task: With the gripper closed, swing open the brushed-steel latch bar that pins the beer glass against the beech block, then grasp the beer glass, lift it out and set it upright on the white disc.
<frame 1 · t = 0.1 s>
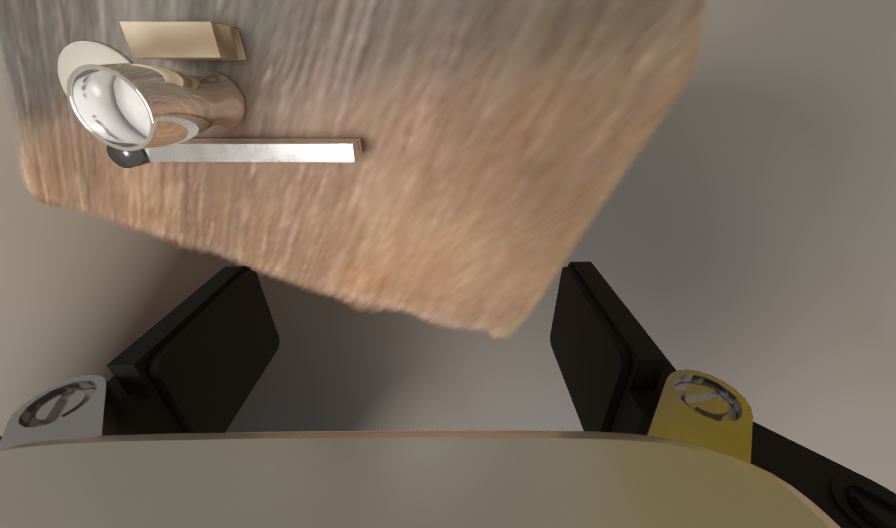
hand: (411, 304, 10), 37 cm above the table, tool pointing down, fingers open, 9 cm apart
latch bar: (241, 150, 39), point 4 cm above the table, hinge at 0.0°
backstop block: (203, 44, 38), on the table
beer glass: (221, 100, 41), on the table
white disc: (110, 91, 40), on the table
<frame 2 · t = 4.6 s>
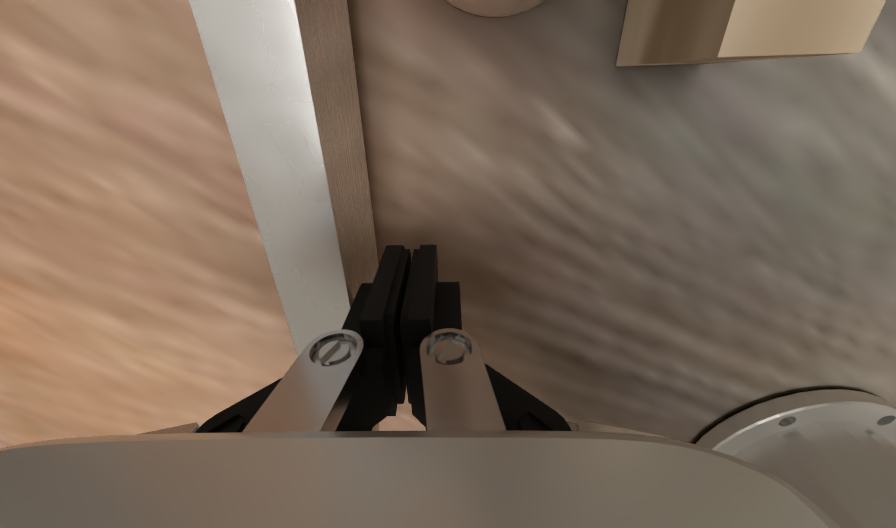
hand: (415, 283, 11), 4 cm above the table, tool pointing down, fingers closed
latch bar: (276, 8, 8), point 4 cm above the table, hinge at 1.3°, touching gripper
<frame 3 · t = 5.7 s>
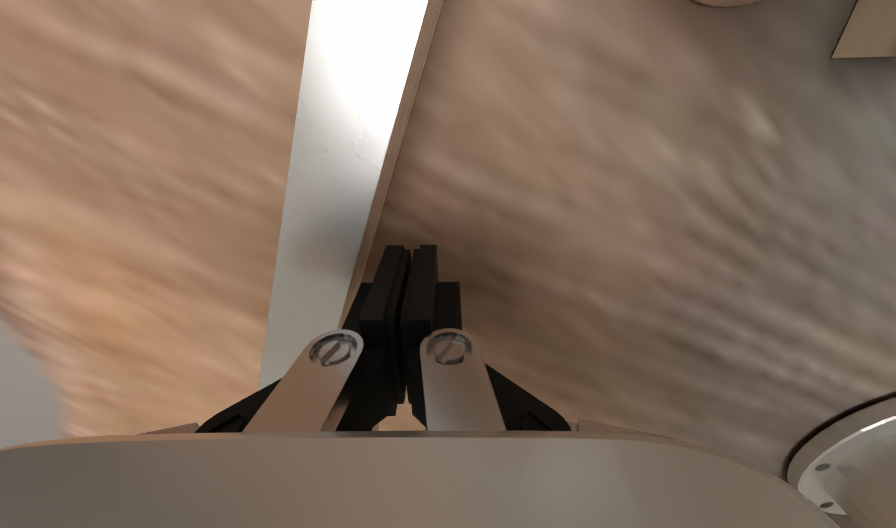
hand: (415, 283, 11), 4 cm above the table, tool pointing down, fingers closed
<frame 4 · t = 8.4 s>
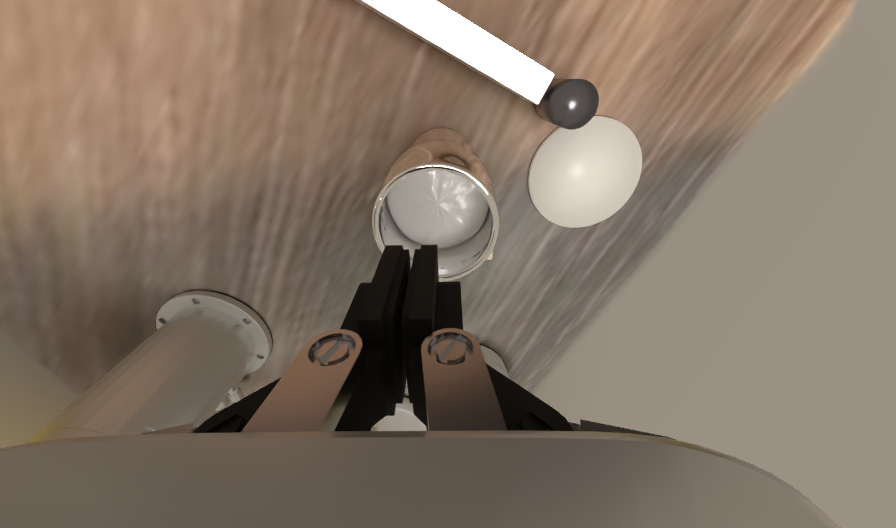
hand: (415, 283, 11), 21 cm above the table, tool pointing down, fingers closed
vodka: (395, 412, 47), on the table
latch bar: (408, 9, 21), point 4 cm above the table, hinge at 26.4°
ramekin: (466, 366, 43), on the table
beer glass: (441, 163, 30), on the table
white disc: (582, 174, 30), on the table
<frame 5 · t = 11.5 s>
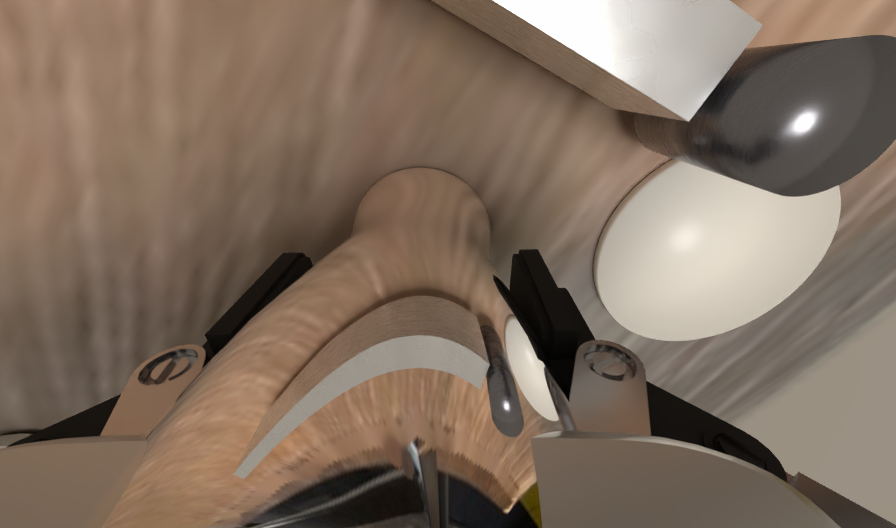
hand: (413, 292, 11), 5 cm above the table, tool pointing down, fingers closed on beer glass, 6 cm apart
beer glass: (423, 232, 15), on the table, touching gripper
white disc: (703, 250, 15), on the table
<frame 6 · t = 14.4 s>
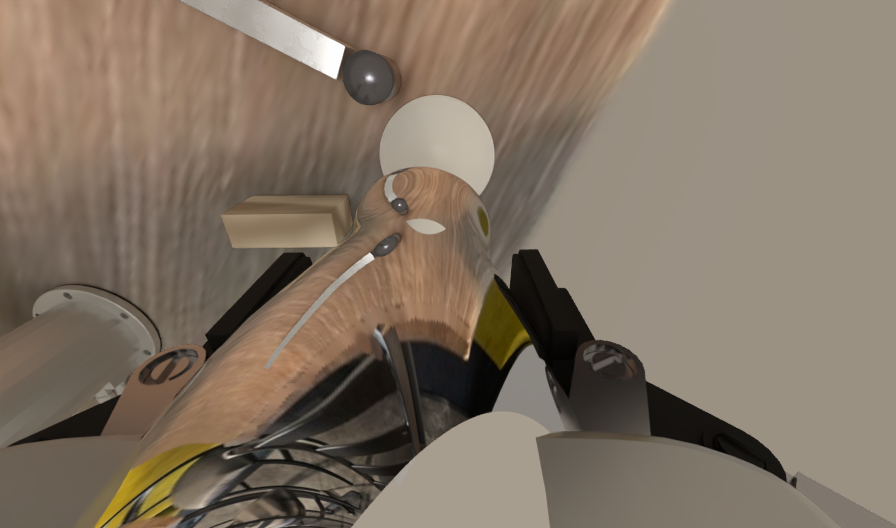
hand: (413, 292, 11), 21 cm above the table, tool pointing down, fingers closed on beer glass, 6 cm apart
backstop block: (303, 210, 32), on the table
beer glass: (423, 231, 15), point 16 cm above the table, touching gripper
white disc: (437, 158, 29), on the table
when the fingers open (6 cm above the table, at t = 17.5 s): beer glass drops 1 cm, resting on white disc.
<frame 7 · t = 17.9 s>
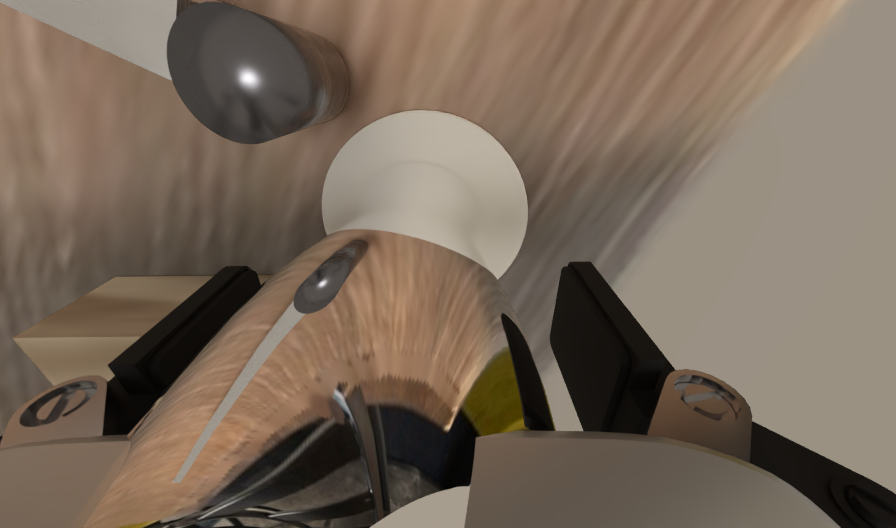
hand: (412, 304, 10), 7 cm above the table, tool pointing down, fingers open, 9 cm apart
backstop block: (205, 297, 19), on the table
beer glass: (418, 222, 16), resting on white disc
white disc: (426, 218, 17), on the table
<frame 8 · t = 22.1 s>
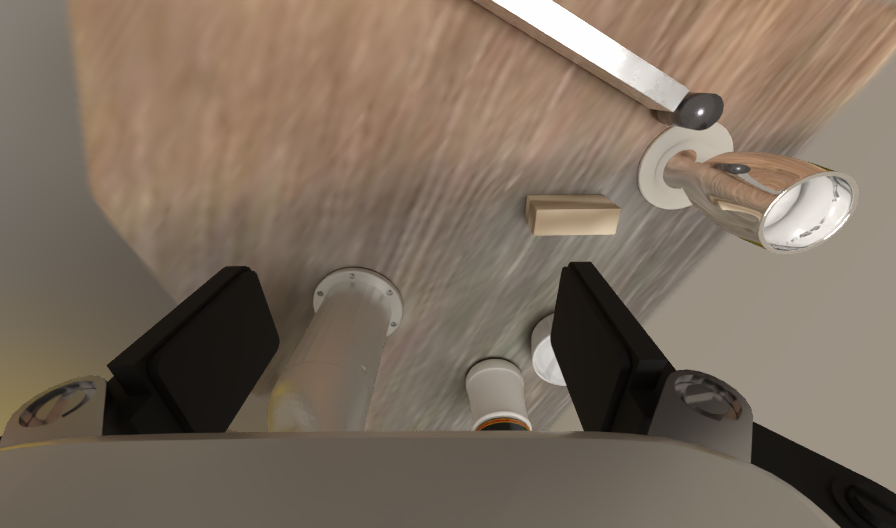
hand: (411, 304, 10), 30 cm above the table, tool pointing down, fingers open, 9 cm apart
vodka: (493, 375, 55), on the table
latch bar: (582, 44, 29), point 4 cm above the table, hinge at 26.4°
ramekin: (561, 332, 51), on the table
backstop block: (562, 206, 40), on the table
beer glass: (681, 167, 38), resting on white disc
white disc: (682, 166, 38), on the table
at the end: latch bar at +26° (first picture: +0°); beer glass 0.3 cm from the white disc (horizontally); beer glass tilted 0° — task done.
